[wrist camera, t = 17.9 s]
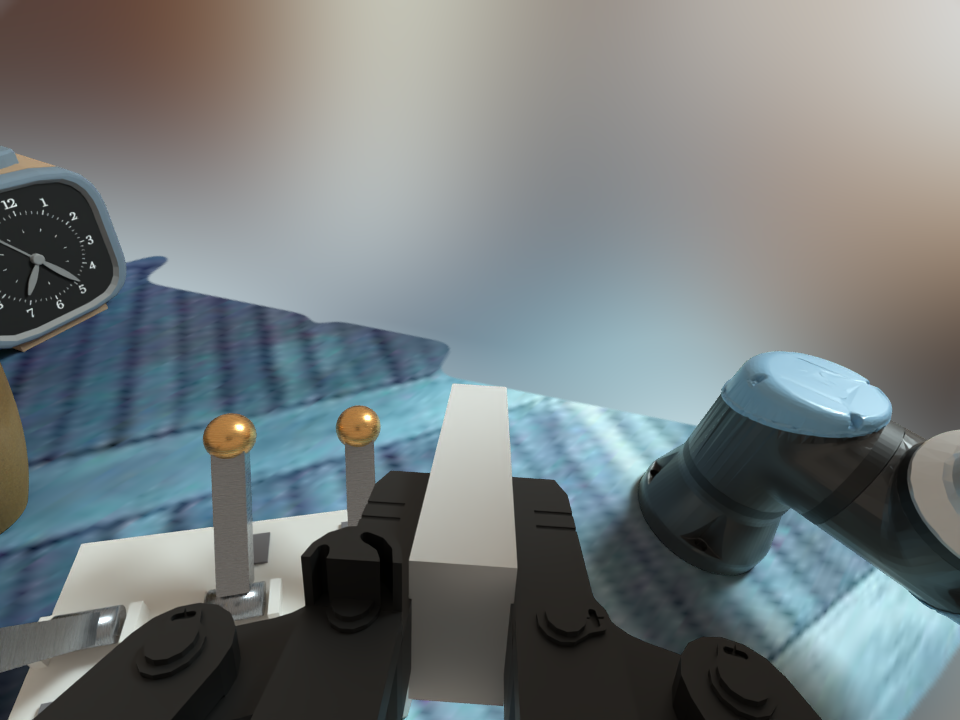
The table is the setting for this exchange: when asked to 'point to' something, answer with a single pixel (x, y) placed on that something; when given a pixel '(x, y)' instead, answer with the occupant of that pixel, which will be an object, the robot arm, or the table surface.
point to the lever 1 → (60, 636)
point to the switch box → (168, 588)
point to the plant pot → (11, 459)
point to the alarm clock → (52, 251)
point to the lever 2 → (358, 456)
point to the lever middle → (233, 517)
